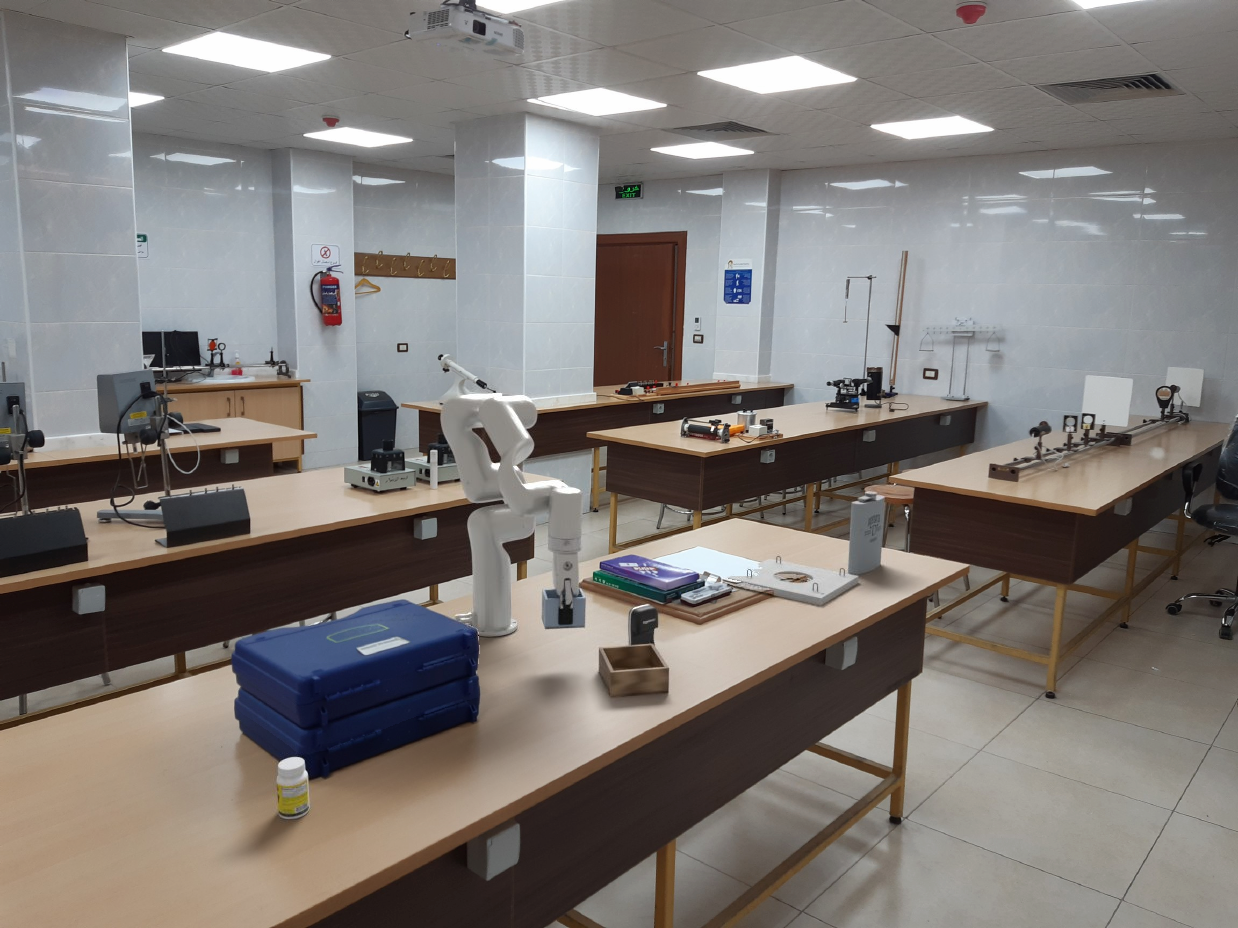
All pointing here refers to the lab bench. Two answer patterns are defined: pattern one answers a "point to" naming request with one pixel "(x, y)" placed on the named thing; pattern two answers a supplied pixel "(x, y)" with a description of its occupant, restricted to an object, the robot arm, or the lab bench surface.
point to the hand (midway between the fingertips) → (563, 617)
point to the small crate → (552, 605)
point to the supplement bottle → (292, 788)
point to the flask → (866, 533)
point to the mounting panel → (813, 591)
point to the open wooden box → (633, 670)
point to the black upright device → (642, 624)
